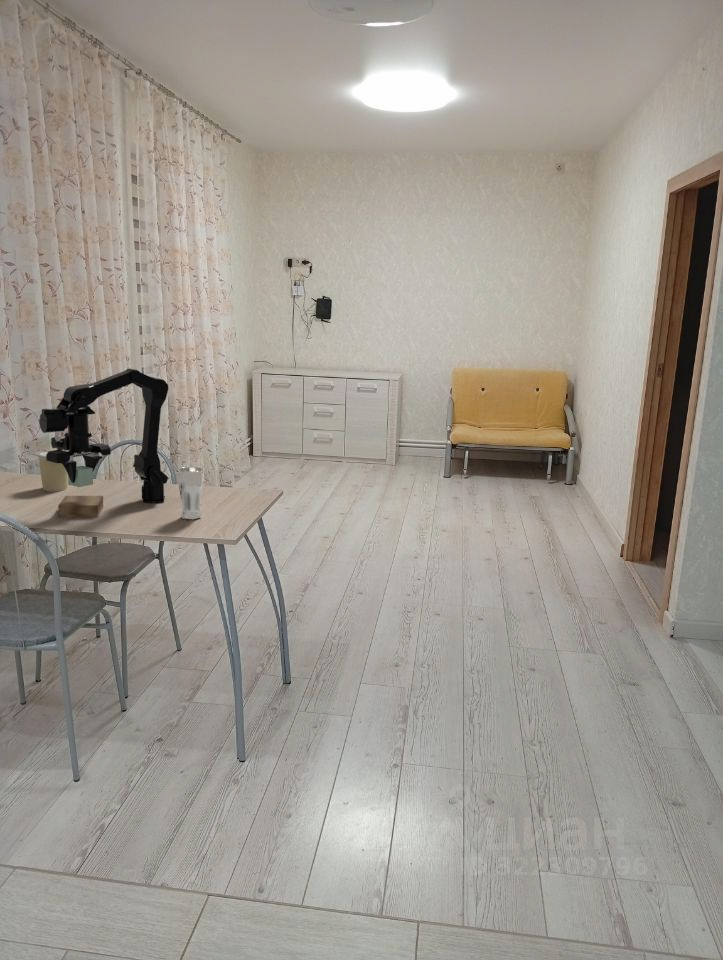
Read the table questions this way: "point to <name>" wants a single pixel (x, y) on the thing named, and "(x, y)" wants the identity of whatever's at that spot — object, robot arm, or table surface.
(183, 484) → the beer glass
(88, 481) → the sage block
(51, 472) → the coffee cup
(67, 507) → the walnut block
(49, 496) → the table surface
